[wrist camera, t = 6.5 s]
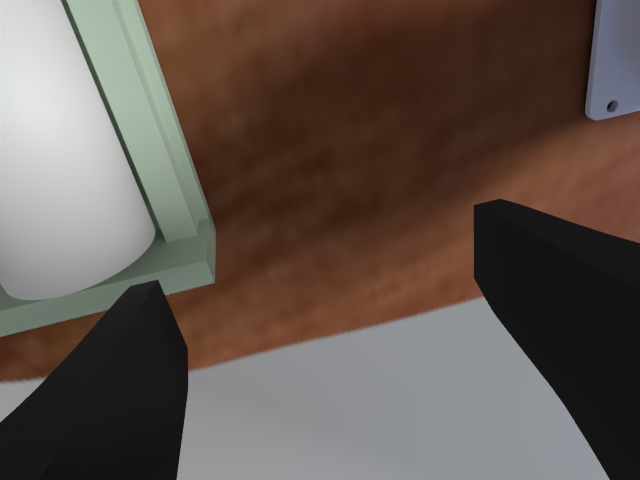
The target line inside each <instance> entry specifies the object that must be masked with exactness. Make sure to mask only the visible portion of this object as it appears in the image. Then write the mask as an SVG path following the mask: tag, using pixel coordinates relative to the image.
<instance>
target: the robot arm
mask: <svg viewBox="0 0 640 480" xmlns="http://www.w3.org/2000/svg"><path fill="white" fill-rule="evenodd" d="M611 101H612V104H611V106H610V108H609V109H607V106H608V104H609V103H610V102H611ZM635 111H640V0H597V5H596V14H595V23H594V33H593V42H592V51H591V60H590V69H589V79H588V88H587V97H586V106H585V114H586V116H587V117H589V118H591V119H593V120H603V119H607V118H611V117H615V116H619V115H623V114H627V113H631V112H635ZM474 279H475V280H476V282H477V284H478V286H479V288H480V290H481V291H482V293H483V295H484V297H485V299H486V300H487V302H488V304H489V305H490V307H491V309H492V310H493V312H494V314H495V315H496V316H497V318H498V319H499V320H500V321H501V323H502V324H503V325H504V327H505V328H506V329H507V331H508V332H509V333H510V334H511V336H512V337H513V338H514V340H515V341H516V342H517V344H518V345H519V346H520V347H521V349H522V350H523V351H524V353H525V354H526V355H527V356H528V358H529V359H530V360H531V361H532V363H533V364H534V365H535V366H536V368H537V369H538V370H539V372H540V373H541V374H542V375H543V377H544V378H545V379H546V381H547V382H548V383H549V385H550V386H551V387H552V388H553V390H554V391H555V392H556V394H557V395H558V397H559V398H560V399H561V401H562V402H563V404H564V405H565V407H566V408H567V410H568V411H569V413H570V415H571V416H572V418H573V419H574V421H575V423H576V424H577V426H578V427H579V429H580V431H581V432H582V434H583V435H584V437H585V439H586V440H587V442H588V443H589V445H590V447H591V448H592V450H593V452H594V453H595V455H596V457H597V459H598V460H599V462H600V464H601V465H602V467H603V469H604V470H605V472H606V474H607V475H608V477H609V479H610V480H640V243H637V242H633V241H630V240H626V239H623V238H619V237H616V236H613V235H609V234H606V233H603V232H600V231H596V230H593V229H590V228H587V227H584V226H581V225H578V224H575V223H572V222H569V221H566V220H564V219H561V218H558V217H555V216H552V215H549V214H546V213H543V212H541V211H538V210H535V209H532V208H529V207H526V206H523V205H520V204H517V203H513V202H510V201H506V200H502V199H497V200H493V201H489V202H485V203H480V204H476V205H474ZM187 393H188V348H187V345H186V343H185V341H184V338H183V336H182V334H181V332H180V329H179V327H178V325H177V322H176V320H175V318H174V315H173V313H172V311H171V308H170V306H169V304H168V301H167V299H166V297H165V294H164V292H163V290H162V287H161V285H160V283H159V280H154V281H149V282H145V283H141V284H137V285H132V286H130V287H129V288H128V289H127V290H126V291H125V292H124V293H123V294H122V295H121V296H120V297H119V298H118V299H117V301H116V302H115V303H114V304H113V305H112V306H111V307H110V309H109V310H108V311H107V312H106V313H105V314H104V316H103V317H102V318H101V319H100V320H99V321H98V323H97V324H96V325H95V326H94V327H93V328H92V329H91V331H90V332H89V333H88V334H87V335H86V336H85V337H84V339H83V340H82V341H81V342H80V343H79V344H78V345H77V347H76V348H75V349H74V350H73V351H72V352H71V353H70V354H69V355H68V356H67V357H66V358H65V359H64V360H63V361H62V363H61V364H60V365H59V366H58V367H57V368H56V369H55V370H54V371H53V372H52V373H51V374H50V375H49V376H48V377H47V378H46V379H45V380H44V381H43V382H42V384H41V385H40V386H39V387H38V388H37V389H36V390H35V391H34V392H33V393H32V394H31V395H30V396H29V397H28V398H26V399H25V400H24V401H23V402H22V403H21V404H20V405H19V406H18V407H17V408H16V409H15V410H14V411H13V412H11V413H10V414H9V415H8V416H7V417H6V418H5V419H4V420H3V421H1V422H0V480H176V479H177V471H178V463H179V456H180V448H181V441H182V433H183V426H184V418H185V409H186V401H187Z"/></svg>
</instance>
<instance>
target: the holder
mask: <svg viewBox="0 0 640 480" xmlns="http://www.w3.org/2000/svg"><path fill="white" fill-rule="evenodd" d="M61 2H62V5H63V7H64V10H65V12H66V14H67V17H68V19H69V22H70V24H71V26H72V29H73V31H74V34H75V36H76V39H77V41H78V43H79V46H80V48H81V51H82V53H83V55H84V58H85V60H86V63H87V65H88V68H89V70H90V72H91V75H92V77H93V80H94V82H95V84H96V87H97V89H98V92H99V94H100V96H101V99H102V101H103V104H104V106H105V109H106V111H107V113H108V116H109V118H110V121H111V123H112V125H113V128H114V130H115V133H116V135H117V138H118V140H119V142H120V145H121V147H122V150H123V152H124V154H125V157H126V159H127V162H128V164H129V167H130V169H131V171H132V174H133V176H134V179H135V181H136V183H137V186H138V188H139V191H140V193H141V195H142V198H143V200H144V203H145V205H146V208H147V210H148V212H149V215H150V217H151V220H152V222H153V224H154V227H155V237H154V240H153V242H152V244H151V245H150V246H149V248H148V249H147V250H146V251H145V252H144V253H143V254H142V255H141V256H140V257H139V258H138V259H137V260H136V261H134V262H133V263H132V264H131V265H129V266H128V267H126V268H125V269H123V270H122V271H120V272H119V273H117V274H115V275H113V276H112V277H110V278H108V279H106V280H104V281H102V282H100V283H98V284H95V285H93V286H91V287H88V288H86V289H83V290H80V291H78V292H74V293H71V294H68V295H64V296H60V297H56V298H50V299H43V300H22V299H17V298H14V297H12V296H10V295H8V293H7V292H6V291H5V290H4V288H3V287H2V285H1V284H0V337H2V336H6V335H10V334H14V333H18V332H22V331H26V330H30V329H34V328H38V327H42V326H46V325H50V324H53V323H57V322H61V321H65V320H69V319H73V318H77V317H81V316H85V315H89V314H93V313H97V312H101V311H105V310H109V309H110V307H111V306H112V305H113V304H114V303H115V302H116V301H117V299H118V298H119V297H120V296H121V295H122V294H123V293H124V292H125V291H126V290H127V289H128V288H129V287H130V286H132V285H137V284H141V283H145V282H149V281H154V280H159V283H160V285H161V287H162V290H163V292H164V294H165V295H169V294H172V293H176V292H180V291H184V290H188V289H192V288H196V287H200V286H204V285H208V284H212V283H215V255H216V228H215V225H214V222H213V219H212V216H211V213H210V210H209V208H208V205H207V202H206V199H205V196H204V193H203V190H202V187H201V184H200V181H199V178H198V175H197V173H196V170H195V167H194V164H193V161H192V158H191V155H190V152H189V149H188V146H187V143H186V140H185V138H184V135H183V132H182V129H181V126H180V123H179V120H178V117H177V114H176V111H175V108H174V105H173V103H172V100H171V97H170V94H169V91H168V88H167V85H166V82H165V79H164V76H163V73H162V71H161V68H160V65H159V62H158V59H157V56H156V53H155V50H154V47H153V44H152V41H151V38H150V36H149V33H148V30H147V27H146V24H145V21H144V18H143V15H142V12H141V9H140V6H139V3H138V1H137V0H61Z"/></svg>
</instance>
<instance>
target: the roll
mask: <svg viewBox="0 0 640 480" xmlns="http://www.w3.org/2000/svg"><path fill="white" fill-rule="evenodd" d="M154 237H155V227H154V224H153V222H152V220H151V217H150V215H149V212H148V210H147V208H146V205H145V203H144V200H143V198H142V195H141V193H140V191H139V188H138V186H137V183H136V181H135V179H134V176H133V174H132V171H131V169H130V167H129V164H128V162H127V159H126V157H125V154H124V152H123V150H122V147H121V145H120V142H119V140H118V138H117V135H116V133H115V130H114V128H113V125H112V123H111V121H110V118H109V116H108V113H107V111H106V109H105V106H104V104H103V101H102V99H101V96H100V94H99V92H98V89H97V87H96V84H95V82H94V80H93V77H92V75H91V72H90V70H89V68H88V65H87V63H86V60H85V58H84V55H83V53H82V51H81V48H80V46H79V43H78V41H77V39H76V36H75V34H74V31H73V29H72V26H71V24H70V22H69V19H68V17H67V14H66V12H65V10H64V7H63V5H62V2H61V0H0V284H1V285H2V287H3V288H4V290H5V291H6V292H7V293H8V295H10V296H12V297H14V298H17V299H22V300H43V299H50V298H56V297H60V296H64V295H68V294H71V293H74V292H78V291H80V290H83V289H86V288H88V287H91V286H93V285H95V284H98V283H100V282H102V281H104V280H106V279H108V278H110V277H112V276H113V275H115V274H117V273H119V272H120V271H122V270H123V269H125V268H126V267H128V266H129V265H131V264H132V263H133V262H134V261H136V260H137V259H138V258H139V257H140V256H141V255H142V254H143V253H144V252H145V251H146V250H147V249H148V248H149V246H150V245H151V244H152V242H153V240H154Z"/></svg>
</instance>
